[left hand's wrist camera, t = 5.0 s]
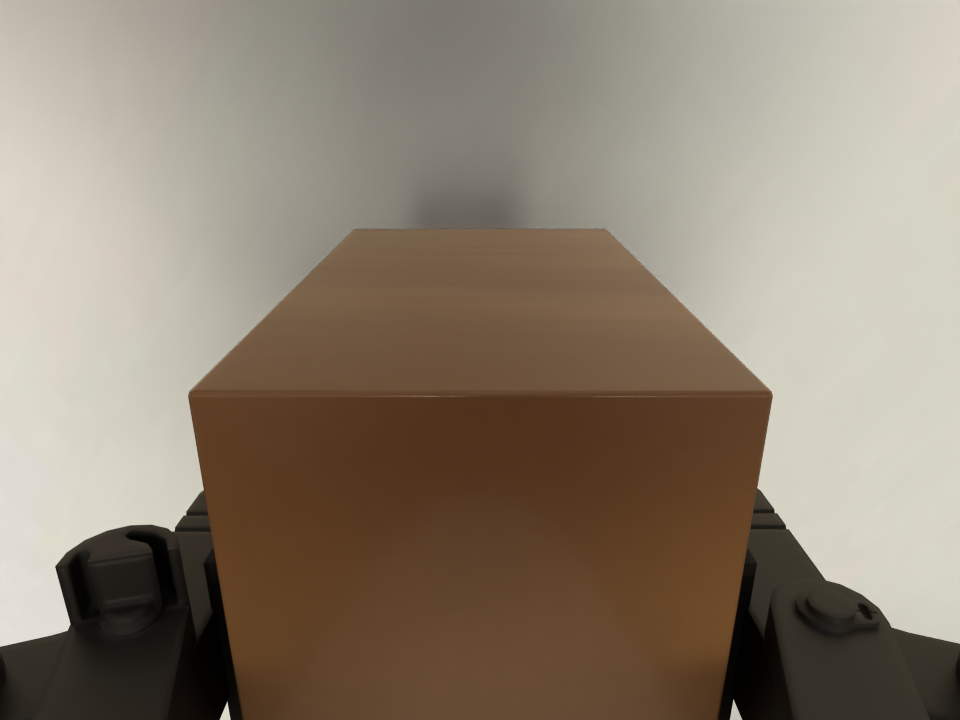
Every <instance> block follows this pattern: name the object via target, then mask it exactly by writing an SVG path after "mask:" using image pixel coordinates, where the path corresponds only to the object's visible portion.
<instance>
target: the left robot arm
mask: <svg viewBox="0 0 960 720" xmlns="http://www.w3.org/2000/svg"><path fill="white" fill-rule="evenodd" d="M55 568H56V571H57V575H58V579H59V582H60V586H61V590H62V593H63V597H64V601H65V605H66V608H67V612H68V616H69V619H70V623H71V625H70V627H69V629H68V631H66V632H62V633H59V634H55V635H52V636H47V637H43V638H38V639H34V640H29V641H25V642H20V643H16V644H11V645H7V646H2V647H0V720H220V717H221V715H222V713H223V710H224V708H225V706H226V703H227V701H228V707H229V712H230V718H231V720H242V714H241V708H240V702H239V696H238V690H237V684H236V678H235V672H234V666H233V660H232V654H231V648H230V642H229V636H228V630H227V624H226V618H225V612H224V606H223V600H222V594H221V588H220V582H219V576H218V570H217V564H216V558H215V552H214V547H213V541H212V535H211V529H210V523H209V517H208V511H207V505H206V499H205V493H204V491H202V492H201V493H200V494H199V495H198V497H197V498H196V499H195V501H194V502H193V504H192V505H191V506H190V508H189V509H188V511H187V514H186V516H183V517H182V519H181V520H180V522H179V523H178V524H177V526H176V527H175V532H171V531H170V530H169V529H167V528H163V527H159V526H155V525H130V526H126V527H122V528H117V529H113V530H109V531H106V532H103V533H101V534H99V535H96V536H94V537H92V538H89V539H87V540H85V541H83V542H82V543H80V544H79V545H77V546H76V547H74V548H73V549H71V550H70V551H69V552H67V553H66V554H65V555H64V557H63V558H62V559H61V560H60V561H59V563H58V564H57V565H56V566H55ZM733 699H734V701H735V703H736V706H737V708H738V711H739V713H740V715H741V718H742V720H960V644H958V643H953V642H949V641H944V640H940V639H935V638H931V637H926V636H922V635H917V634H912V633H908V632H905V631H901V630H898V629H894V628H891V626H890V623H889V622H888V620H887V619H886V618H885V616H884V615H883V613H882V612H881V610H880V609H879V608H878V607H877V606H875V605H874V604H873V603H872V602H870V601H869V600H868V599H867V598H865V597H864V596H863V595H861V594H859V593H857V592H855V591H853V590H851V589H849V588H847V587H845V586H843V585H841V584H837V583H833V582H829V581H826V580H825V579H824V577H823V576H822V574H821V573H820V572H819V570H818V569H817V568H816V566H815V565H814V563H813V562H812V561H811V559H810V558H809V557H808V555H807V554H806V552H805V551H804V550H803V548H802V547H801V546H800V544H799V543H798V541H797V540H796V539H795V537H794V536H793V535H792V533H791V532H790V530H789V529H786V525H785V524H784V522H783V521H782V519H781V518H780V517H779V515H778V514H777V513H775V512H774V508H773V507H772V506H771V504H770V503H769V502H768V500H767V499H766V497H765V496H764V495H763V493H762V492H761V491H760V490H759V489H757V492H756V498H755V504H754V510H753V516H752V522H751V528H750V534H749V539H748V545H747V551H746V557H745V563H744V569H743V575H742V581H741V587H740V593H739V599H738V605H737V611H736V617H735V623H734V629H733V635H732V640H731V646H730V652H729V658H728V664H727V670H726V676H725V682H724V688H723V694H722V700H721V706H720V712H719V718H718V720H730V715H731V709H732V704H733Z"/></svg>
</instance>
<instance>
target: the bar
mask: <svg viewBox="0 0 960 720" xmlns="http://www.w3.org/2000/svg"><path fill="white" fill-rule="evenodd" d="M772 396H773V395H772V392H771V391H770V390H769V389H768V388H767V387H766V386H765V385H764V384H763V383H762V382H761V381H760V380H759V379H758V378H757V377H756V376H755V375H754V374H753V373H752V372H751V371H750V370H749V369H748V368H747V367H746V366H745V365H744V364H743V363H742V362H741V361H740V360H739V359H738V358H737V357H736V356H735V355H734V354H733V353H732V352H731V351H730V350H729V349H728V348H727V347H726V346H725V345H724V344H723V343H722V342H720V341H719V340H718V339H717V338H716V337H715V336H714V335H713V334H712V333H711V332H710V331H709V330H708V329H707V328H706V327H705V326H704V325H703V324H702V323H701V322H700V321H699V320H698V319H697V318H696V317H695V316H694V315H693V314H692V313H691V312H690V311H689V310H688V309H687V308H686V307H685V306H684V305H683V304H682V303H681V302H680V301H679V300H678V299H677V298H676V297H675V296H674V295H673V294H672V293H671V292H670V291H669V290H668V289H667V288H665V287H664V286H663V285H662V284H661V283H660V282H659V281H658V280H657V279H656V278H655V277H654V276H653V275H652V274H651V273H650V272H649V271H648V270H647V269H646V268H645V267H644V266H643V265H642V264H641V263H640V262H639V261H638V260H637V259H636V258H635V257H634V256H633V255H632V254H631V253H630V252H629V251H628V250H627V249H626V248H625V247H624V246H623V245H622V244H621V243H620V242H619V241H618V240H617V239H616V238H615V237H614V236H613V235H611V234H610V233H609V232H608V231H607V230H606V229H354V230H353V231H352V232H351V233H350V234H349V235H348V236H347V237H346V238H345V239H344V240H343V241H342V242H341V243H340V244H339V245H338V246H337V247H336V248H335V249H334V250H333V251H332V252H331V253H330V254H329V255H328V256H327V257H326V258H325V259H324V260H323V261H321V262H320V263H319V264H318V265H317V266H316V267H315V268H314V269H313V270H312V271H311V272H310V273H309V274H308V275H307V276H306V277H305V278H304V279H303V280H302V281H301V282H300V283H299V284H298V285H297V286H296V287H295V288H294V289H293V290H292V291H291V292H290V293H289V294H288V295H287V296H286V297H285V298H284V299H283V300H282V301H281V302H280V303H279V304H278V305H277V306H276V307H275V308H274V309H273V310H272V311H271V312H270V313H269V314H268V315H267V316H266V317H265V318H264V319H263V320H262V321H261V322H260V323H259V324H257V325H256V326H255V327H254V328H253V329H252V330H251V331H250V332H249V333H248V334H247V335H246V336H245V337H244V338H243V339H242V340H241V341H240V342H239V343H238V344H237V345H236V346H235V347H234V348H233V349H232V350H231V351H230V352H229V353H228V354H227V355H226V356H225V357H224V358H223V359H222V360H221V361H220V362H219V363H218V364H217V365H216V366H215V367H214V368H213V369H212V370H211V371H210V372H209V373H208V374H207V375H206V376H205V377H204V378H203V379H202V380H201V381H200V382H199V383H198V384H197V385H196V386H195V387H194V388H192V389H191V390H190V391H189V395H188V397H189V403H190V409H191V415H192V421H193V427H194V433H195V439H196V445H197V451H198V457H199V463H200V469H201V475H202V481H203V487H204V493H205V499H206V505H207V511H208V517H209V523H210V529H211V535H212V541H213V547H214V552H215V558H216V564H217V570H218V576H219V582H220V588H221V594H222V600H223V606H224V612H225V618H226V624H227V630H228V636H229V642H230V648H231V654H232V660H233V666H234V672H235V678H236V684H237V690H238V696H239V702H240V708H241V714H242V720H718V718H719V712H720V706H721V700H722V694H723V688H724V682H725V676H726V670H727V664H728V658H729V652H730V646H731V640H732V635H733V629H734V623H735V617H736V611H737V605H738V599H739V593H740V587H741V581H742V575H743V569H744V563H745V557H746V551H747V545H748V539H749V534H750V528H751V522H752V516H753V510H754V504H755V498H756V492H757V486H758V480H759V474H760V468H761V462H762V456H763V450H764V444H765V438H766V433H767V427H768V421H769V415H770V409H771V403H772Z"/></svg>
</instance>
